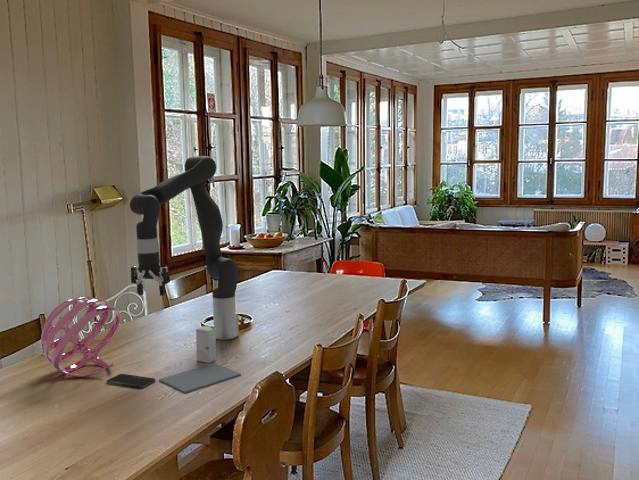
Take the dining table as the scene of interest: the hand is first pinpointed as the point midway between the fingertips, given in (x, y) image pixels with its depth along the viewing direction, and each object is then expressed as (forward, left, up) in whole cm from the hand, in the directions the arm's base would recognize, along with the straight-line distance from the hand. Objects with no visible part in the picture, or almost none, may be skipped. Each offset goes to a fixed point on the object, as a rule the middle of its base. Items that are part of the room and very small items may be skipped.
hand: (151, 295), depth 220 cm
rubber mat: (-2, +26, -25) cm, 36 cm away
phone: (+16, +12, -26) cm, 33 cm away
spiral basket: (+22, -11, -25) cm, 35 cm away
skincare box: (-14, +12, -25) cm, 31 cm away
